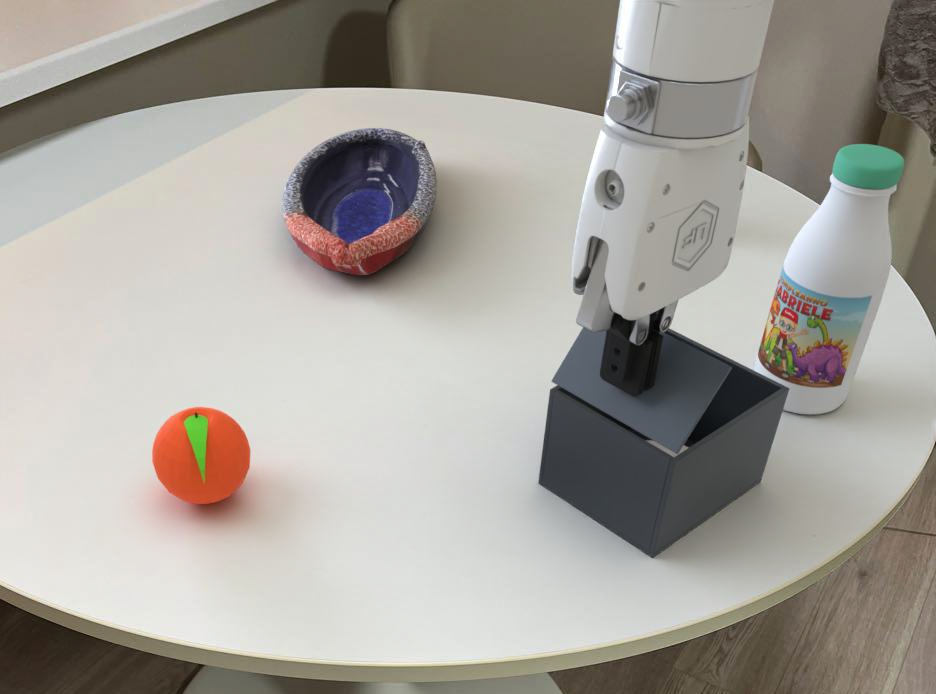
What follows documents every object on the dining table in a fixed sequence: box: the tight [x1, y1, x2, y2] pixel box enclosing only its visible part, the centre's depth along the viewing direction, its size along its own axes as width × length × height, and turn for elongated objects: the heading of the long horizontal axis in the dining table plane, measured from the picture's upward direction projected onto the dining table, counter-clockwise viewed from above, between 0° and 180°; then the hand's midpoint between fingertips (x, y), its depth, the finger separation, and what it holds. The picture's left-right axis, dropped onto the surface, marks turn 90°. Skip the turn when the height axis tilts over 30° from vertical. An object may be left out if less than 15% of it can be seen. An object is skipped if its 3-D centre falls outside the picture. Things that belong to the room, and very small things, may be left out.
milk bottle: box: [753, 143, 905, 415], centre depth 81 cm, size 8×8×20 cm
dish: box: [281, 127, 438, 276], centre depth 109 cm, size 16×31×5 cm, turn 172°
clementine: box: [151, 406, 251, 505], centre depth 75 cm, size 8×7×7 cm
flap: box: [551, 327, 732, 454], centre depth 69 cm, size 6×11×1 cm
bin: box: [537, 327, 789, 559], centre depth 76 cm, size 13×11×8 cm
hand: (625, 383), depth 69 cm, fingers closed
